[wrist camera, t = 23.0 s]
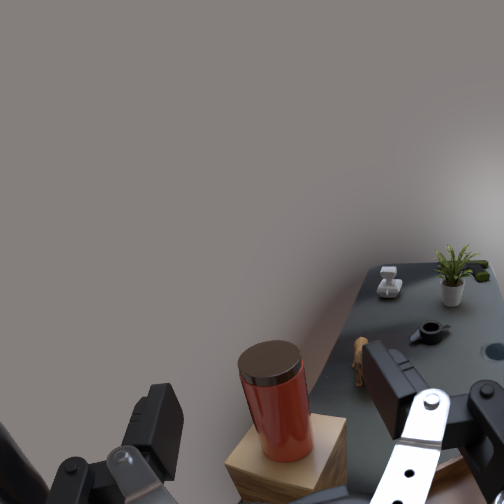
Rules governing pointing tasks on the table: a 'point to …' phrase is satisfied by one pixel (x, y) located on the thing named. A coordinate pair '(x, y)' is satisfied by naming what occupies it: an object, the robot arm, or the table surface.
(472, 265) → the gun
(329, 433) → the cork trivet
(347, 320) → the table surface
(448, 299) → the house plant
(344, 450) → the oak stand
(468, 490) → the wooden box
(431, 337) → the duct tape
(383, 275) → the stamp
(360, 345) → the lion figurine
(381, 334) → the table surface
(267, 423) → the spice jar
